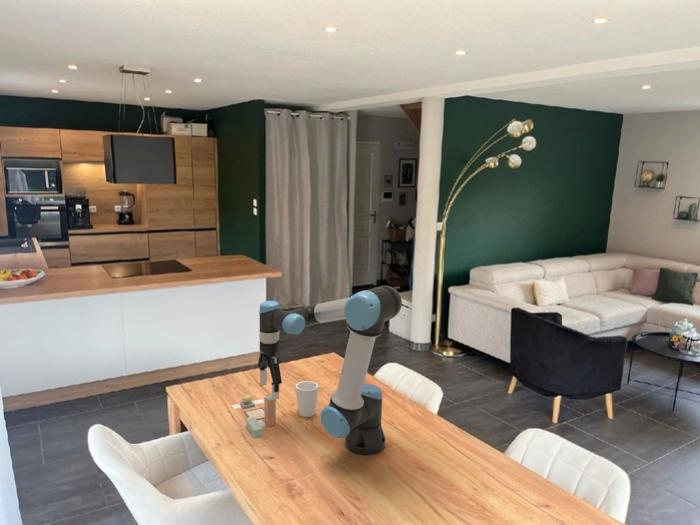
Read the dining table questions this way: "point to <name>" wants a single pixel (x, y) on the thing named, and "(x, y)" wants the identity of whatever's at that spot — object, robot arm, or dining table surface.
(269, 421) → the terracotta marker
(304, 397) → the foam cup
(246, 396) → the button
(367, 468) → the dining table surface
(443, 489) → the dining table surface
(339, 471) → the dining table surface
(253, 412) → the white flat panel
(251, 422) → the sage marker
